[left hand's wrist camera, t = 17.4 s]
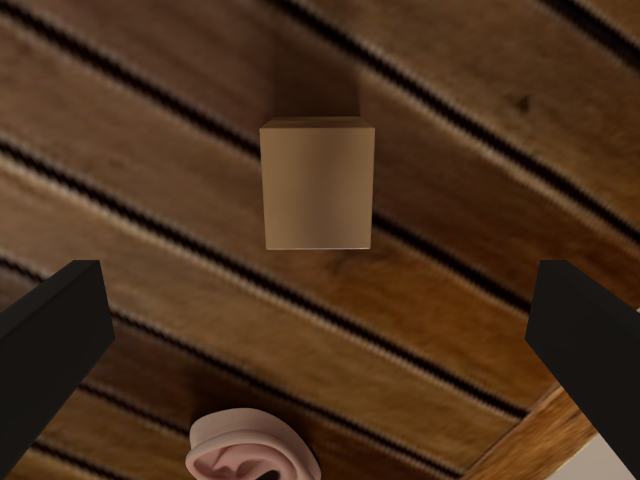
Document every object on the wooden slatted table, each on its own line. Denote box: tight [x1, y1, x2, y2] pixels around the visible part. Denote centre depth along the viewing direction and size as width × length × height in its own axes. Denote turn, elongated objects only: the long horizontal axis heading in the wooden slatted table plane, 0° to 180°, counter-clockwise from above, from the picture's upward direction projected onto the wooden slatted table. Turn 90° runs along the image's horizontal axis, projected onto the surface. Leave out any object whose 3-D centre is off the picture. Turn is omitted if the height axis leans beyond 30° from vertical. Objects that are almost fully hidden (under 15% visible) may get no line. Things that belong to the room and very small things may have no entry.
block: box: [260, 116, 375, 250], centre depth 25 cm, size 6×6×7 cm
